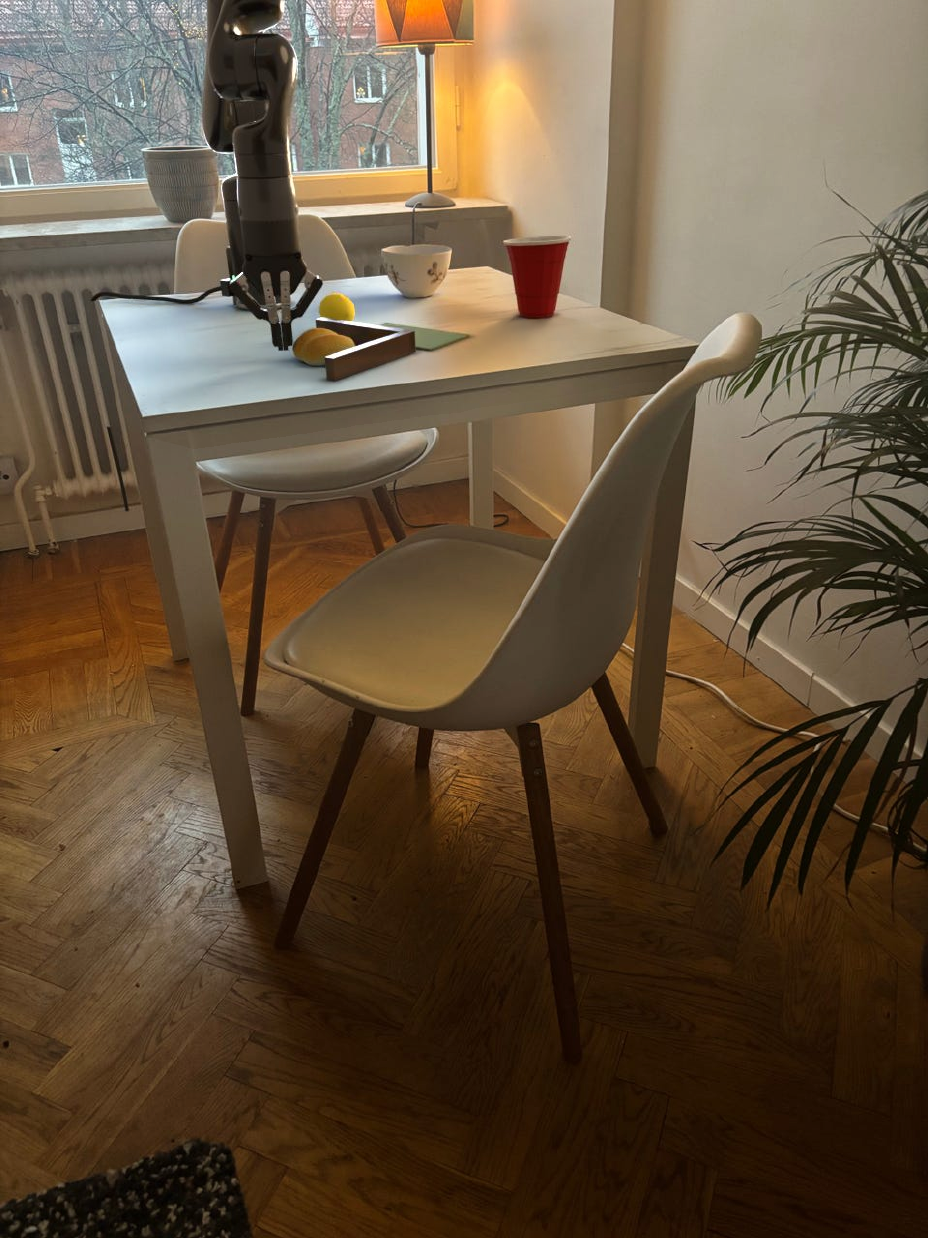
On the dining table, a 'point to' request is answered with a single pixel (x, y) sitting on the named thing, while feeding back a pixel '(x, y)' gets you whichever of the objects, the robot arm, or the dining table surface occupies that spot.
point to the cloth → (430, 336)
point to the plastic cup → (537, 272)
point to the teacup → (416, 268)
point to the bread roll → (319, 345)
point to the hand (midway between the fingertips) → (283, 349)
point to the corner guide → (365, 346)
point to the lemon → (337, 307)
